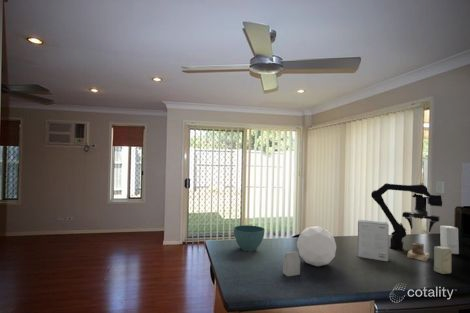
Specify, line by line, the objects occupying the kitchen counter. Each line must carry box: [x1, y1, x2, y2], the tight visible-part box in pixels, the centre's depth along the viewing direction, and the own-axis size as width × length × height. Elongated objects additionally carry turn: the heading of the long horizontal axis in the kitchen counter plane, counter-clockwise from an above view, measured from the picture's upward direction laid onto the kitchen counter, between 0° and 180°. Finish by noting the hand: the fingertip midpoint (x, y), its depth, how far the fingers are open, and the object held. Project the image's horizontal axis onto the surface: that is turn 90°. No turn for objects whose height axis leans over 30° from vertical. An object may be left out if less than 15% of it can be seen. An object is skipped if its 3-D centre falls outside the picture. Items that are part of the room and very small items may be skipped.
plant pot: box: [233, 224, 265, 252], centre depth 164 cm, size 18×18×12 cm
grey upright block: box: [282, 250, 301, 277], centre depth 129 cm, size 4×7×10 cm, turn 115°
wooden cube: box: [411, 242, 425, 255], centre depth 160 cm, size 5×5×5 cm
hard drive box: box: [357, 219, 390, 262], centre depth 157 cm, size 16×8×20 cm, turn 64°
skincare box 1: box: [439, 225, 460, 255], centre depth 173 cm, size 8×7×16 cm
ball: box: [296, 225, 337, 267], centre depth 144 cm, size 19×20×20 cm
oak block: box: [406, 249, 430, 262], centre depth 160 cm, size 9×9×3 cm
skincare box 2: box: [433, 245, 452, 275], centre depth 138 cm, size 6×4×12 cm
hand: (420, 230), depth 171 cm, fingers open, 9 cm apart
